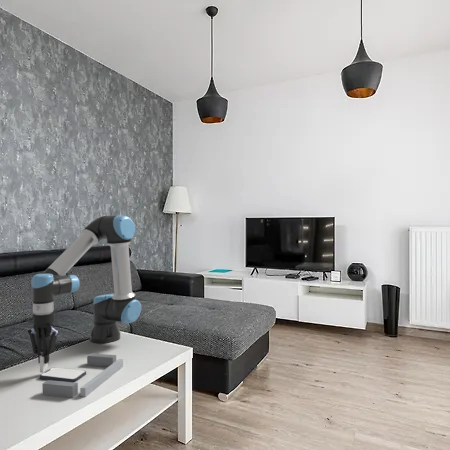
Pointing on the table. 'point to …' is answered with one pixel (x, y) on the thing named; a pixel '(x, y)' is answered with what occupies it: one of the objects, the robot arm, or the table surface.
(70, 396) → the grey u-shaped piece
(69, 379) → the smartphone
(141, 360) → the table surface
